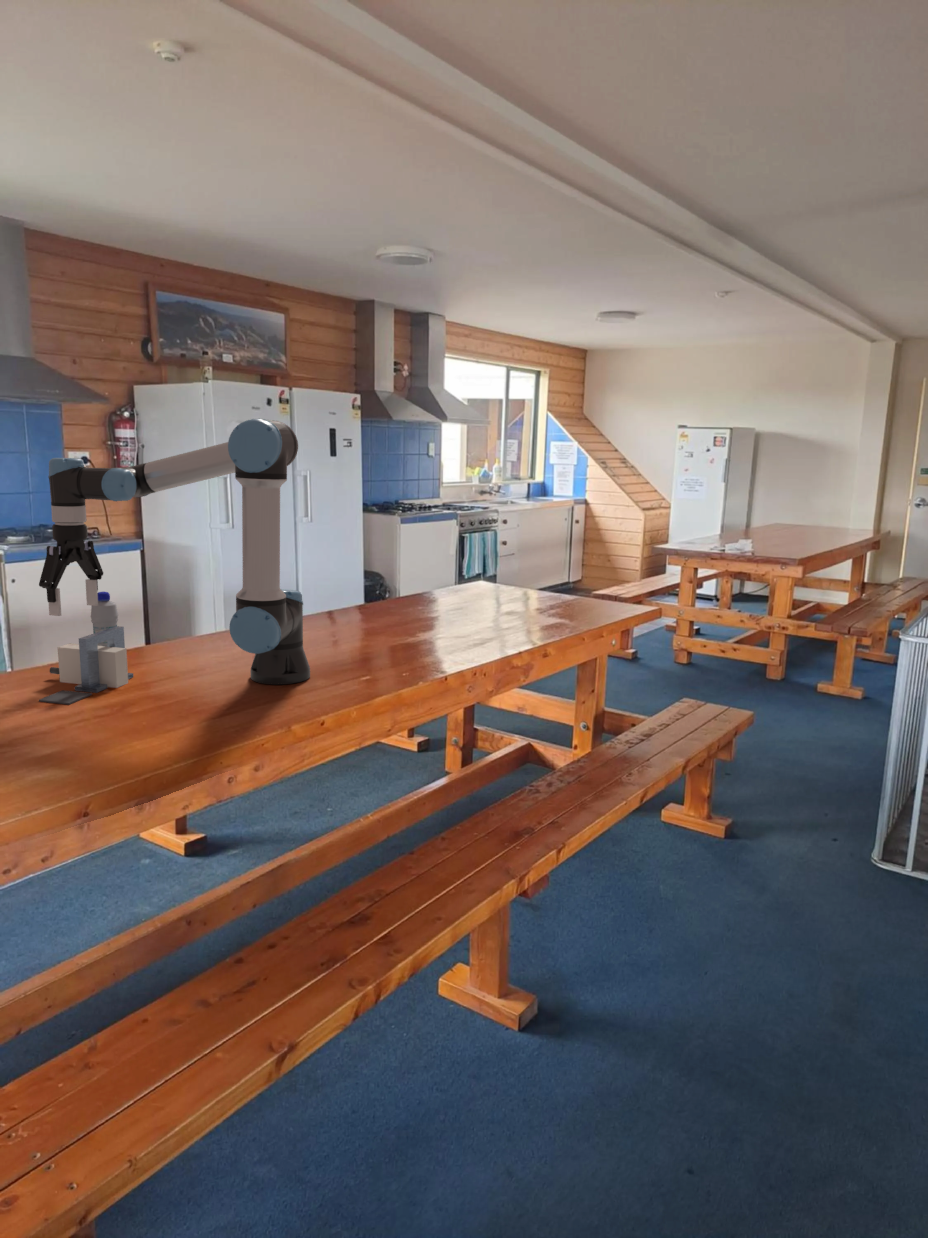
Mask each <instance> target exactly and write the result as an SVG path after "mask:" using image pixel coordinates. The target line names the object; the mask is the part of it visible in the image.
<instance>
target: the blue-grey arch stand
mask: <svg viewBox="0 0 928 1238" xmlns="http://www.w3.org/2000/svg"><path fill="white" fill-rule="evenodd" d="M104 641H107V644H108V647H117V648H126V647H125V646H126V644H125V628H124V626H119V625H117V626H116V627H112V628H109V629H106V630H103V631H100V632H97V633H94V634H93V633H91V634H88V635H84V636H81V637H79V638H78V644H79V652H80V667H81V681H82V684H77V685H75V686H74V691H75V692H85V693H95V694H98V693H99V692H102V691H104V690H107V689H108V687H107V684H100V676H99V661H98V645H97V644H98V643H101V642H104ZM132 678H134V673H132V672H128V680H130V679H132Z"/></svg>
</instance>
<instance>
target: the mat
mask: <svg viewBox="0 0 928 1238" xmlns="http://www.w3.org/2000/svg"><path fill="white" fill-rule="evenodd" d="M90 696H93V692H84V691H75V690H73V691H72V690H63V689H62V690H60V691H57V692H54V693H52V694H49V695H47V696H45V697H42V698H39V699H38V703H39V702H41V703H49V704H60V705H72V704H74V703H76V702H79V701H81V700H84V699H86V698H89V697H90Z"/></svg>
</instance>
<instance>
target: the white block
mask: <svg viewBox="0 0 928 1238" xmlns="http://www.w3.org/2000/svg"><path fill="white" fill-rule="evenodd" d="M127 654H128V652H127V648H126V647H125V648H117V647H106V646H98V661H99V676H100V684H107V688H115V689H118V688H120V687H123V686H124V685H127V684H129V679H128V673H129V672H128V671H129V669H128V655H127ZM57 657H58V659H57V660H58V667H56V666H51V667H50V668H49V673H50V674H51V675H52V674H53V675H59V683H66V684H75V685H76V684H77V685H80V684H82V681H81V667H80V652H79V643H72V642H71V643H66V644H64V645H60V646H57Z"/></svg>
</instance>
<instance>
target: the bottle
mask: <svg viewBox="0 0 928 1238" xmlns="http://www.w3.org/2000/svg"><path fill="white" fill-rule="evenodd" d="M97 593H98V606H91V605H90V606H91V607H90V608H91V609H90V611H91V612H90V619H91V620H90V621H91V623H92V632H93V633H92V634H94V633H97V632H100V631H103V630H106V629H109V628H112V627H116V626H118V621H119V612H118V608H117V603H116V602H113V601H111V594H110V593H109V592H108V591H97ZM97 645H98V646H106V647H108V644H107V641H104V642H101V643H98V644H97Z"/></svg>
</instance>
